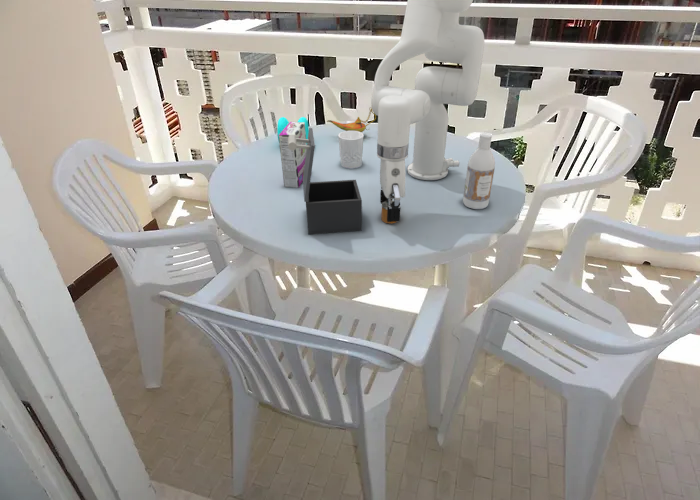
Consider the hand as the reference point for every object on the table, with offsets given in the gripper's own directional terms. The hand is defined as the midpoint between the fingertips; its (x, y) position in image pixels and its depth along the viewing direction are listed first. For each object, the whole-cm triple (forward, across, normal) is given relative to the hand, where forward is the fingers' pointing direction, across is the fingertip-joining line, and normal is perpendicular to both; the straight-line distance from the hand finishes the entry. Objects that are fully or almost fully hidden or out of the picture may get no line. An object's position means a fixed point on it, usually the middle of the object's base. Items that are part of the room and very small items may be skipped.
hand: (389, 211), depth 125 cm
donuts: (+2, +55, +24) cm, 60 cm away
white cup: (+2, +36, +6) cm, 37 cm away
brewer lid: (-14, +1, +20) cm, 24 cm away
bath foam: (+2, +5, -25) cm, 26 cm away
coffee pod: (+2, 0, 0) cm, 2 cm away
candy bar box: (+2, +27, +24) cm, 36 cm away
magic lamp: (+2, +60, +3) cm, 60 cm away
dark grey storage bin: (+2, +1, +15) cm, 15 cm away
